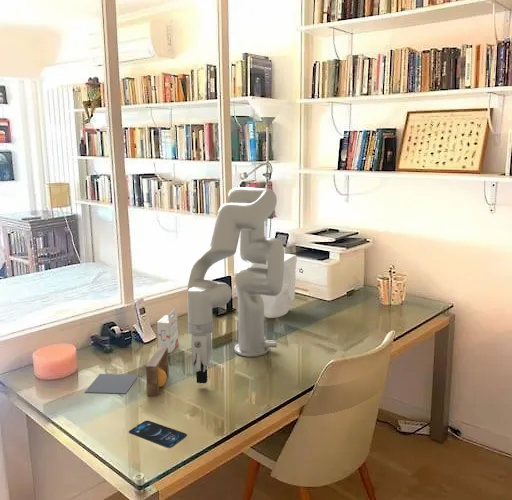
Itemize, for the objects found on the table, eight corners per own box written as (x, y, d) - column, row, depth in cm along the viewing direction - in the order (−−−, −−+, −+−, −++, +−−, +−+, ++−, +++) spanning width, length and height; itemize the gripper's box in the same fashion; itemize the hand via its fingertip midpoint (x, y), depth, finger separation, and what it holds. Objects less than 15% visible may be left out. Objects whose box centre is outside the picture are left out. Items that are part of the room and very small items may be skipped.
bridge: (168, 374, 179) (167, 347, 177) (157, 396, 164) (155, 366, 162) (159, 374, 179) (158, 347, 177) (147, 396, 164) (145, 366, 162)
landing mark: (138, 375, 178) (138, 374, 178) (125, 393, 166) (125, 393, 166) (99, 374, 179) (99, 373, 179) (84, 392, 167) (84, 391, 167)
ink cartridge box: (166, 343, 206) (164, 306, 202) (178, 344, 205) (177, 307, 201) (157, 352, 197) (156, 314, 194) (170, 353, 196) (169, 314, 193)
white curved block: (279, 321, 229) (280, 262, 223) (231, 309, 245) (230, 254, 240) (307, 309, 245) (307, 254, 240) (260, 298, 261) (259, 246, 256)
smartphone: (146, 419, 151) (188, 434, 143) (146, 421, 151) (188, 436, 143) (126, 432, 144) (169, 448, 136) (126, 434, 144) (169, 450, 136)
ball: (158, 386, 173) (172, 375, 172) (154, 394, 167) (168, 382, 166) (146, 373, 173) (159, 361, 172) (141, 380, 167) (155, 368, 166)
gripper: (208, 335, 159) (210, 393, 162) (216, 319, 173) (217, 372, 177) (183, 335, 159) (185, 392, 163) (193, 318, 174) (194, 371, 178)
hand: (202, 381), depth 170 cm, fingers closed
